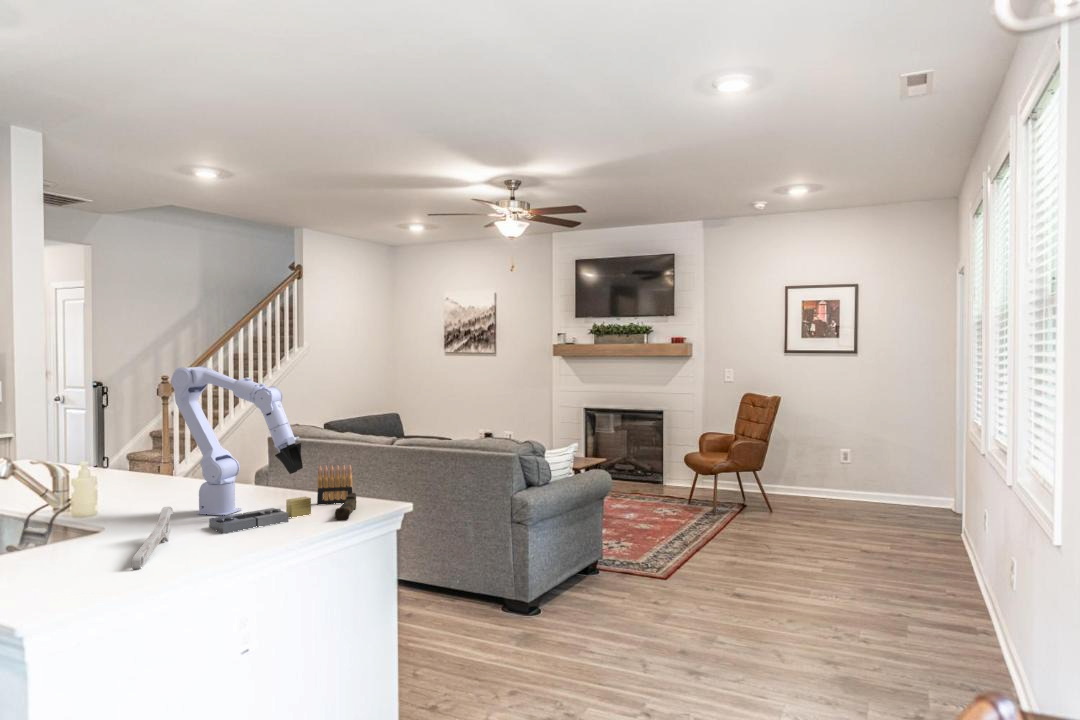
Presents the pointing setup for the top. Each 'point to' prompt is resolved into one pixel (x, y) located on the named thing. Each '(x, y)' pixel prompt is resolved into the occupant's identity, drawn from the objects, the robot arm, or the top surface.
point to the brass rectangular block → (298, 506)
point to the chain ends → (248, 520)
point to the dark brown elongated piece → (346, 508)
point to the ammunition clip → (334, 485)
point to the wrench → (154, 539)
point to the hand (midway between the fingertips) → (296, 471)
